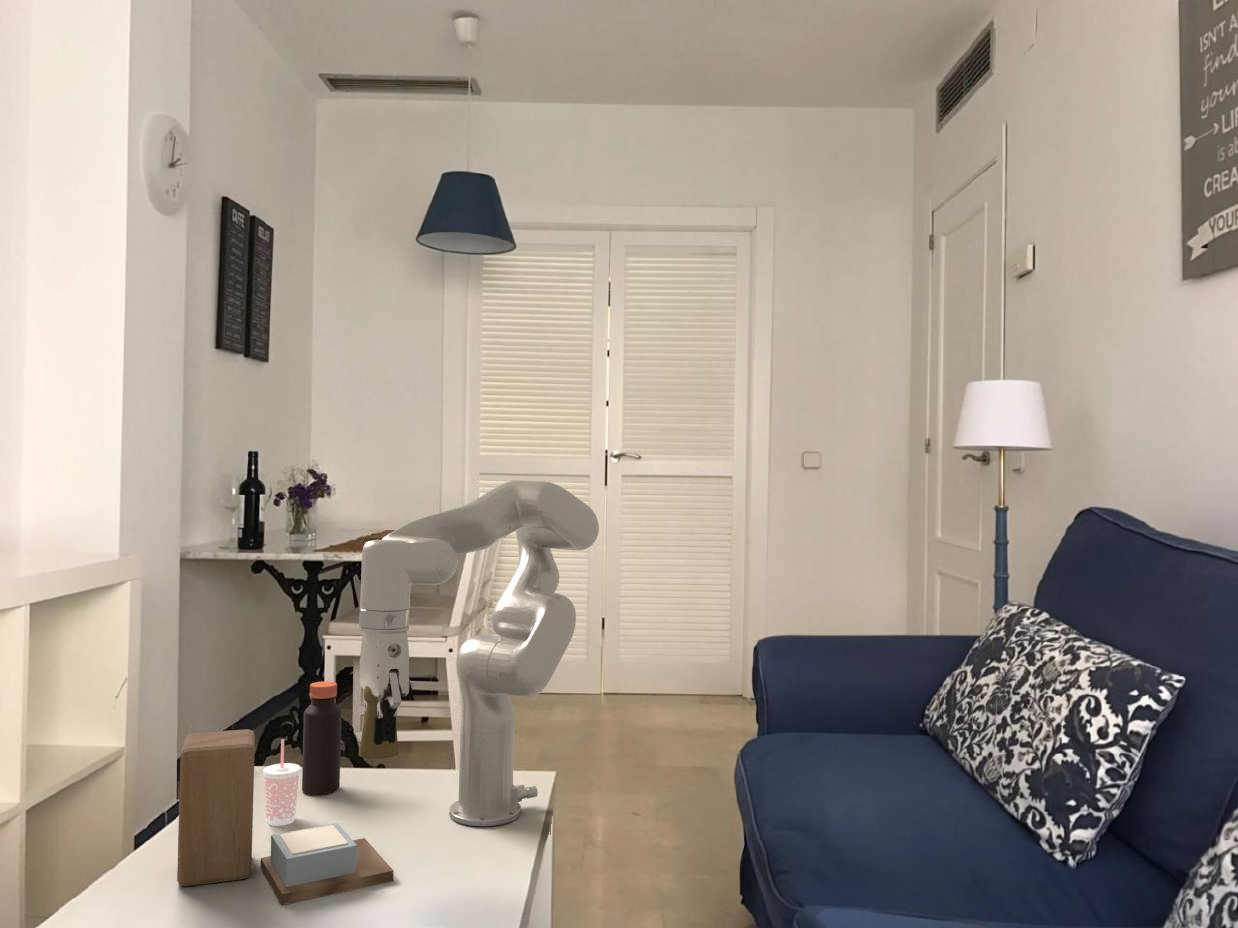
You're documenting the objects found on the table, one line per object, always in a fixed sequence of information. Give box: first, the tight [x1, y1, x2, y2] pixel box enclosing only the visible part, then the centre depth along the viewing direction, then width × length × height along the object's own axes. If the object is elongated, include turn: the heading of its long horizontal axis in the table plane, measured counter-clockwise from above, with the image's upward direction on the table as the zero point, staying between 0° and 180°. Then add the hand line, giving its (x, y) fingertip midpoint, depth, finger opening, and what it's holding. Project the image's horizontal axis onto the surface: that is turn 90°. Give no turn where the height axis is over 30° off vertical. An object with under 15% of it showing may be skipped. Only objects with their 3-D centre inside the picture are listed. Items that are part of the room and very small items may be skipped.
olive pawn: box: [358, 686, 400, 760], centre depth 145 cm, size 6×6×11 cm
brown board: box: [259, 837, 394, 906], centre depth 142 cm, size 16×14×2 cm
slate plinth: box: [270, 822, 357, 887], centre depth 141 cm, size 10×10×4 cm
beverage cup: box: [262, 738, 302, 827], centre depth 162 cm, size 6×6×14 cm
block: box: [176, 728, 256, 887], centre depth 142 cm, size 10×10×20 cm
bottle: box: [301, 680, 343, 797], centre depth 178 cm, size 7×7×20 cm
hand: (379, 738), depth 145 cm, fingers closed on olive pawn, 3 cm apart
